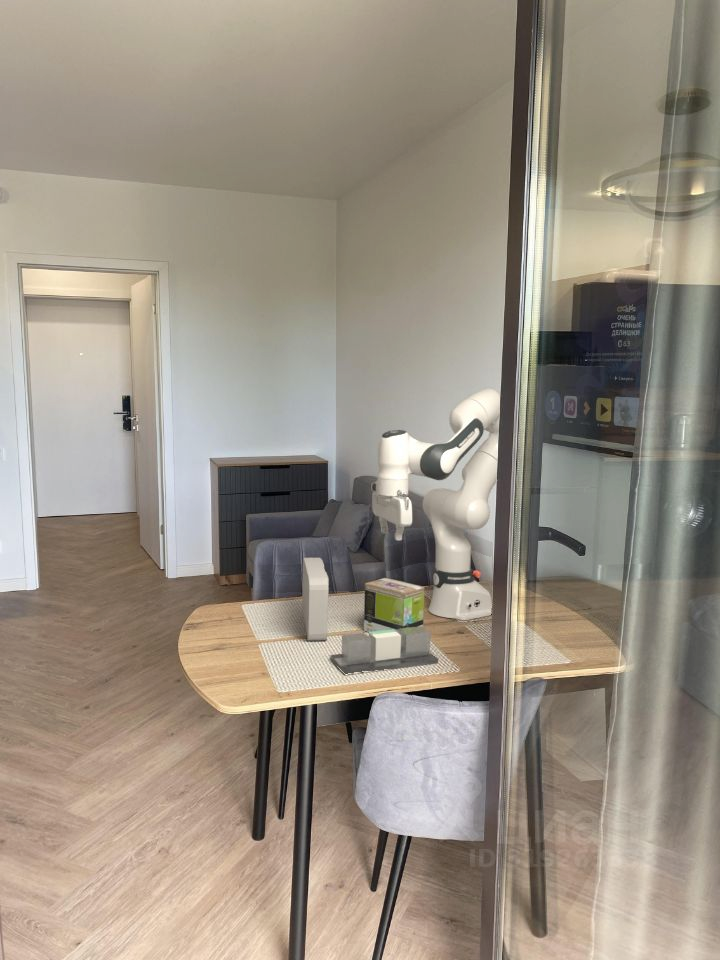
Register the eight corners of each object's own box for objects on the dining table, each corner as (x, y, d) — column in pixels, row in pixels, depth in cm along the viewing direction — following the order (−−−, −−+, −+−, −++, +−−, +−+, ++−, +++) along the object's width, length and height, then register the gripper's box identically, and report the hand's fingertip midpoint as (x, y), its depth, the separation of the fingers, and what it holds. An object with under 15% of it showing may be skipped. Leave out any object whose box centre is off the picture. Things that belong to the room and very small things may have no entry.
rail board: (419, 648, 203) (420, 622, 202) (438, 663, 192) (439, 635, 191) (330, 659, 193) (330, 632, 192) (344, 675, 183) (345, 646, 182)
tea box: (424, 635, 213) (426, 586, 211) (402, 644, 206) (404, 593, 204) (384, 623, 223) (385, 576, 221) (362, 631, 216) (363, 582, 214)
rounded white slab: (335, 642, 206) (336, 580, 203) (308, 643, 205) (309, 580, 202) (326, 610, 234) (327, 555, 231) (302, 611, 233) (302, 555, 230)
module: (392, 650, 196) (393, 628, 195) (400, 657, 192) (401, 634, 191) (368, 653, 194) (368, 631, 193) (375, 660, 189) (376, 637, 188)
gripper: (418, 493, 198) (417, 543, 200) (388, 482, 217) (387, 528, 219) (397, 494, 196) (395, 545, 198) (368, 483, 215) (367, 530, 217)
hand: (391, 536), depth 209 cm, fingers open, 8 cm apart
